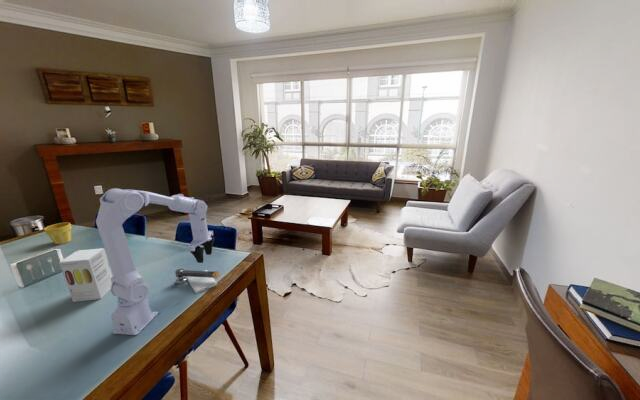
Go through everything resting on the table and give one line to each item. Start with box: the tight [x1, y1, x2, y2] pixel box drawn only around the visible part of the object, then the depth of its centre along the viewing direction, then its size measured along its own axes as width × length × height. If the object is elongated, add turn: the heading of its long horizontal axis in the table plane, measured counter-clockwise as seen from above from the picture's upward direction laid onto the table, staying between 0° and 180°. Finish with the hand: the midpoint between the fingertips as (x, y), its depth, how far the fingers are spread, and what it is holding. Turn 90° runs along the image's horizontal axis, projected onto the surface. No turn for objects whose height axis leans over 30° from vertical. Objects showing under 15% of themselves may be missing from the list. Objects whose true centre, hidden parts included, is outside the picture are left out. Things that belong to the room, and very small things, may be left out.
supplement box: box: [58, 247, 114, 303], centre depth 94 cm, size 10×9×17 cm
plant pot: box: [43, 221, 73, 245], centre depth 138 cm, size 10×10×10 cm
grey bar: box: [174, 268, 220, 279], centre depth 101 cm, size 3×18×2 cm, turn 84°
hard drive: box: [186, 269, 218, 295], centre depth 102 cm, size 2×8×12 cm
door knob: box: [175, 276, 188, 285], centre depth 102 cm, size 4×4×3 cm
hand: (204, 258), depth 104 cm, fingers open, 6 cm apart
